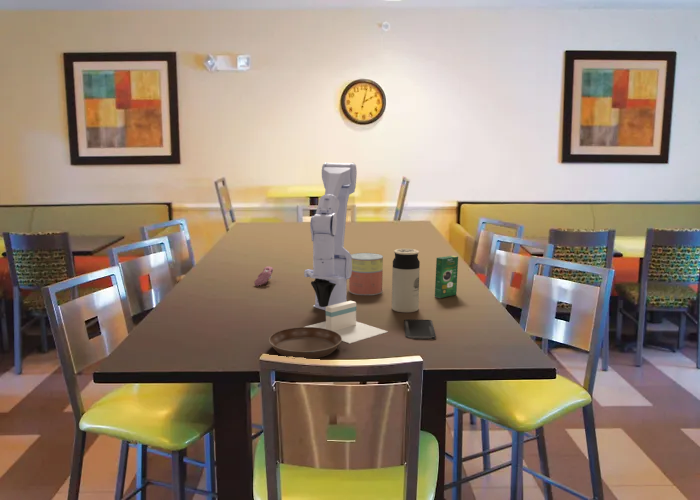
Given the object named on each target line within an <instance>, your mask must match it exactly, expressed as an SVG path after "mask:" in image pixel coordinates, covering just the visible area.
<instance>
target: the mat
mask: <svg viewBox="0 0 700 500" xmlns="http://www.w3.org/2000/svg"><path fill="white" fill-rule="evenodd" d="M304 327H316V328H323V329H326V320H325V321H321V322H317V323H314V324H310V325H306V326H304ZM334 332H336V333H338V334H339V335H340V336H341V338H342V341H341V342H343V343H346V344H350V345H351V344H353V343H358V342H361V341H363V340H367V339H369V338H373V337H374V338H375V337H376V336H380V335H383V334H387V333H388V332H389V331H388V330H385V329H381V328H379V327H375V326H372V325H369V324H366V323H363V322H360V321H357V320H356V325H354V326H350V327H346V328H343V329H339V330H336V331H334Z"/></svg>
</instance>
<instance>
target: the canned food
mask: <svg viewBox="0 0 700 500" xmlns="http://www.w3.org/2000/svg"><path fill="white" fill-rule="evenodd" d="M350 254H351V253H350ZM351 256H352V274H351V277H350V278H349V279H348V281H349V282H348V285H349V286H348V291H349V292H348V293H350V294H353V295H357V296H376V295H380V294H382V293H383V272H384V270H383V269H384V267H383V266H384V256H383V255H382V254H380V253H374V252H373V253H372V252H357V253H352V254H351Z"/></svg>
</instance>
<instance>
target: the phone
mask: <svg viewBox="0 0 700 500" xmlns="http://www.w3.org/2000/svg"><path fill="white" fill-rule="evenodd" d="M403 323H404V324H403V325H404V336H405V338H407V339H413V340H428V339H433V340H436V339H437V338H436V337H437V334H436V331H435V330H436V329H435V327H434V324H433V320H431V319H413V318H412V319H411V318H410V319H407V318H406V319H404V320H403ZM435 338H436V339H435Z"/></svg>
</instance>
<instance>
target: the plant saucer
mask: <svg viewBox="0 0 700 500" xmlns="http://www.w3.org/2000/svg"><path fill="white" fill-rule="evenodd" d="M268 342H269V343H270V346H271V347H272V348H273V349H274V350H275V352H276V353H277V354H279V355H281V356H283V355H285V356H293V357H304V358H313V359H319V358H323V357H326V356H329V355H331V354H332V353H334V351H336V350H337V348H338V347H339V346H340V344H341V342H343V341H342V338H341V336H340V335H339V334H338V333H336V332H334V331H331V330H328V329H323V328H316V327H305V326H302V327H301V326H300V327H290V328H285V329H282V330H279V331H276V332H275V333H273V334H271V335H270V336H269V338H268ZM285 356H284V357H285Z"/></svg>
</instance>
